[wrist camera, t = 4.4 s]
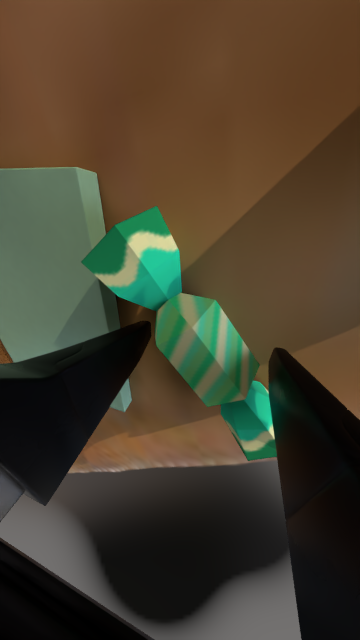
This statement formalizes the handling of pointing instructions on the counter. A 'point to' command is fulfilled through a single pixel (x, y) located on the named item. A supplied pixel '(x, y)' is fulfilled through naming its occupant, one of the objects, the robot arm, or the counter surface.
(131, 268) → the candy
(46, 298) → the cutting board
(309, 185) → the counter surface
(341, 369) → the counter surface
